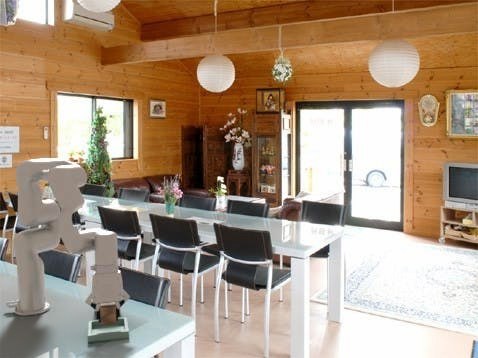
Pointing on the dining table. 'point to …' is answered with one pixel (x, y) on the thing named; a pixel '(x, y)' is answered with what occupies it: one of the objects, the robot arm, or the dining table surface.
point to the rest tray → (107, 331)
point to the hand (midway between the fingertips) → (108, 319)
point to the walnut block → (108, 313)
